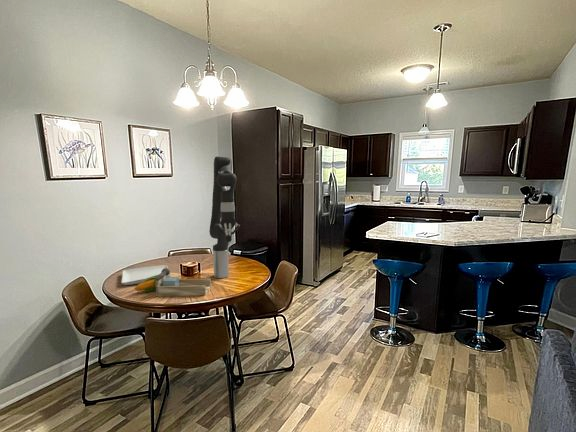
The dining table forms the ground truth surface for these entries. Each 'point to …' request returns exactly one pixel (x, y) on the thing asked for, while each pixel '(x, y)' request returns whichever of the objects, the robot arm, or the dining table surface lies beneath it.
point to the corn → (147, 285)
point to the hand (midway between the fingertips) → (229, 241)
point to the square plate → (141, 274)
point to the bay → (181, 286)
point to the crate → (171, 281)
